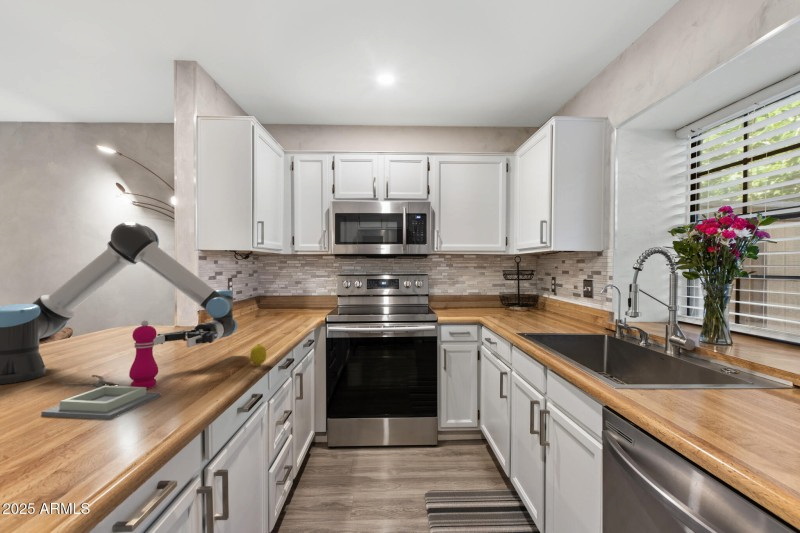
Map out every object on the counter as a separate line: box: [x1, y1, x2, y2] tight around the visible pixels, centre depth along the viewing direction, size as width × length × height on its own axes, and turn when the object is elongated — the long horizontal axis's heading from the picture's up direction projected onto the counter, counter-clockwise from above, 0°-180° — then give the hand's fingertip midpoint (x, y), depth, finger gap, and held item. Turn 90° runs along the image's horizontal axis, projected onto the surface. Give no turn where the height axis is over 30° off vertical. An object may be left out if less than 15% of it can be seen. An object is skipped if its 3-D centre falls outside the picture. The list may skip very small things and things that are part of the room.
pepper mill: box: [128, 320, 159, 390], centre depth 111 cm, size 7×7×20 cm
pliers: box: [60, 374, 120, 388], centre depth 116 cm, size 10×1×20 cm
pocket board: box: [40, 385, 161, 420], centre depth 96 cm, size 18×16×3 cm
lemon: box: [250, 343, 267, 367], centre depth 137 cm, size 6×6×8 cm
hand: (168, 342), depth 121 cm, fingers open, 13 cm apart
